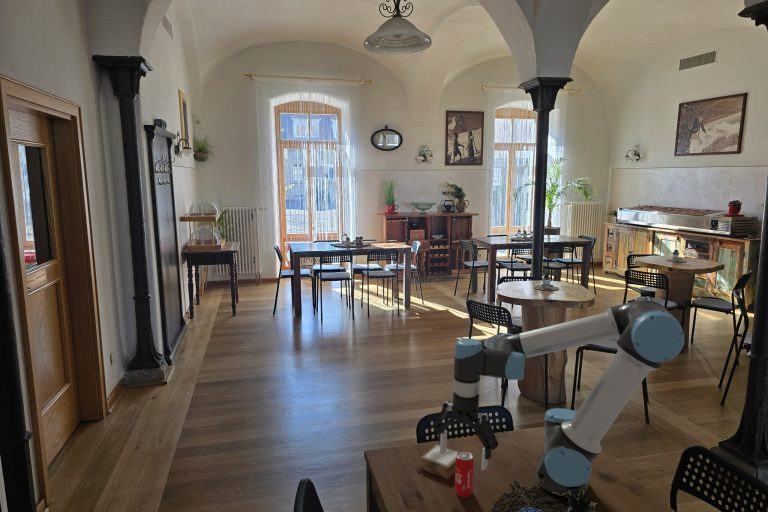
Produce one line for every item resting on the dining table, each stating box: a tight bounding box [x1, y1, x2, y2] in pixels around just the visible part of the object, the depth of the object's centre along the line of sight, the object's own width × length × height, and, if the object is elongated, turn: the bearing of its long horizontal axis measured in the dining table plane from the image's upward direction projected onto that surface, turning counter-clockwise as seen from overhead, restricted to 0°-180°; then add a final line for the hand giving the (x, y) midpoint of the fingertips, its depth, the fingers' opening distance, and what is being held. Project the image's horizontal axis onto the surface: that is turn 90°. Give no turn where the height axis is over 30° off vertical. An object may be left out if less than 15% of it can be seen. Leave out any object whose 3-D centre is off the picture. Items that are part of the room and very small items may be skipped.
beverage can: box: [454, 450, 475, 498], centre depth 152 cm, size 5×5×12 cm
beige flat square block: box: [420, 443, 460, 480], centre depth 166 cm, size 10×10×4 cm
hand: (463, 460), depth 151 cm, fingers open, 13 cm apart
